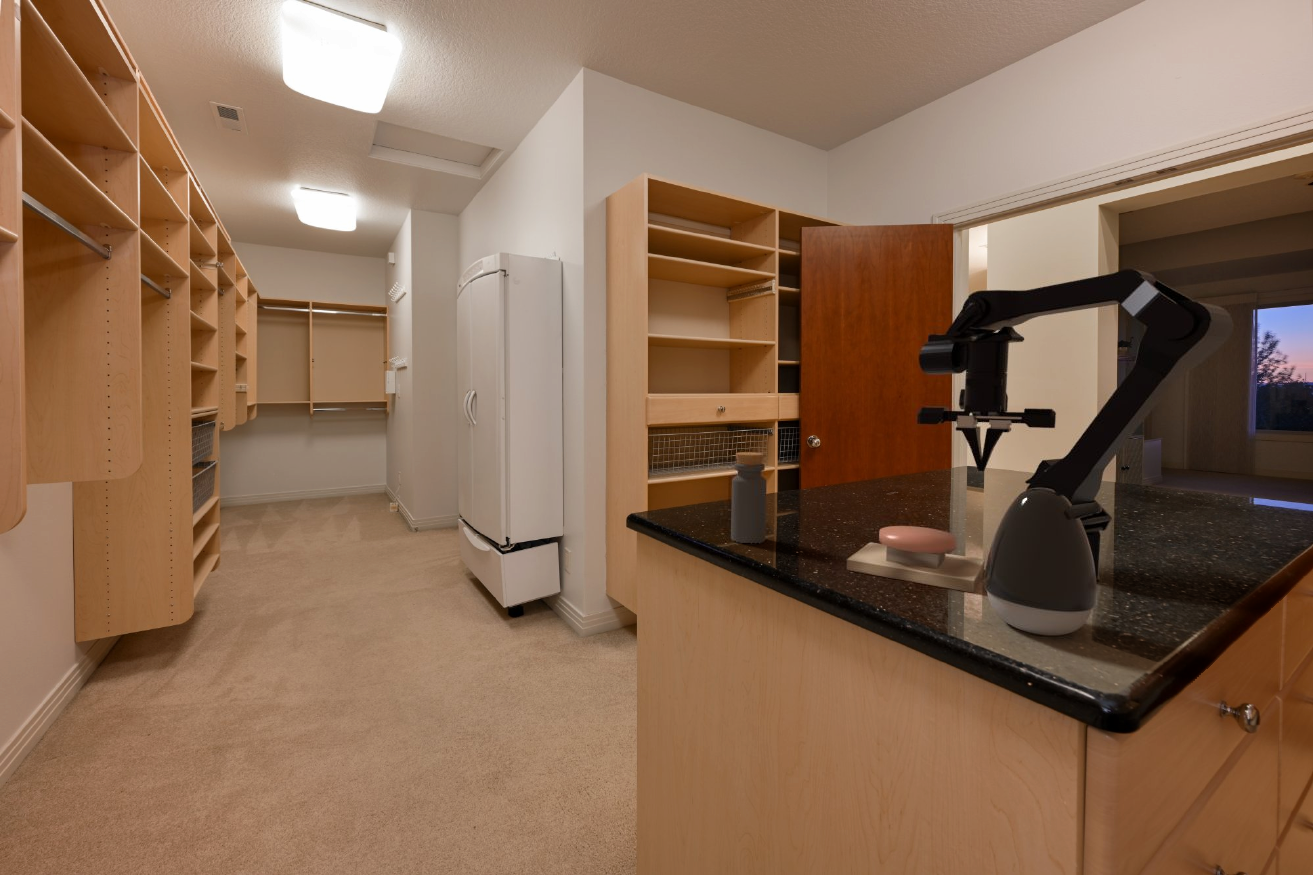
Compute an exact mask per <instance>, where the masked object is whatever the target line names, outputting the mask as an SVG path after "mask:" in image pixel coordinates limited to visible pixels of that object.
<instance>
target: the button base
mask: <svg viewBox="0 0 1313 875" xmlns="http://www.w3.org/2000/svg"><path fill="white" fill-rule="evenodd" d="M985 562H986V561H985V558H979V557H971V556H965V555H960V554H959V555H956V554H951V553H947V552H946V553H919V552H911V551H904V550H899V549H895V548H892V547H888V546H886V545H884V544H882V543H876V542H869V543H866V545H865V546H863V547H862V548H860V549H859V550H858V551H856V552H855V553H854V554H852V555H851V556H850V557H848V558H846V571H851V572H856V573H861V574H867V575H873V576H878V577H884V578H890V579H895V580H901V581H906V582H912V583H917V584H918V583H919V584H923V585H927V586H928V585H929V586H935V587H940V588H946V589H952V590H957V591H963V592H968V593H974V592H975V590H976V588H977V585H978V583H979V582H980V579H981V577H982V575H983V573H984V572H985Z"/></svg>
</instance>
